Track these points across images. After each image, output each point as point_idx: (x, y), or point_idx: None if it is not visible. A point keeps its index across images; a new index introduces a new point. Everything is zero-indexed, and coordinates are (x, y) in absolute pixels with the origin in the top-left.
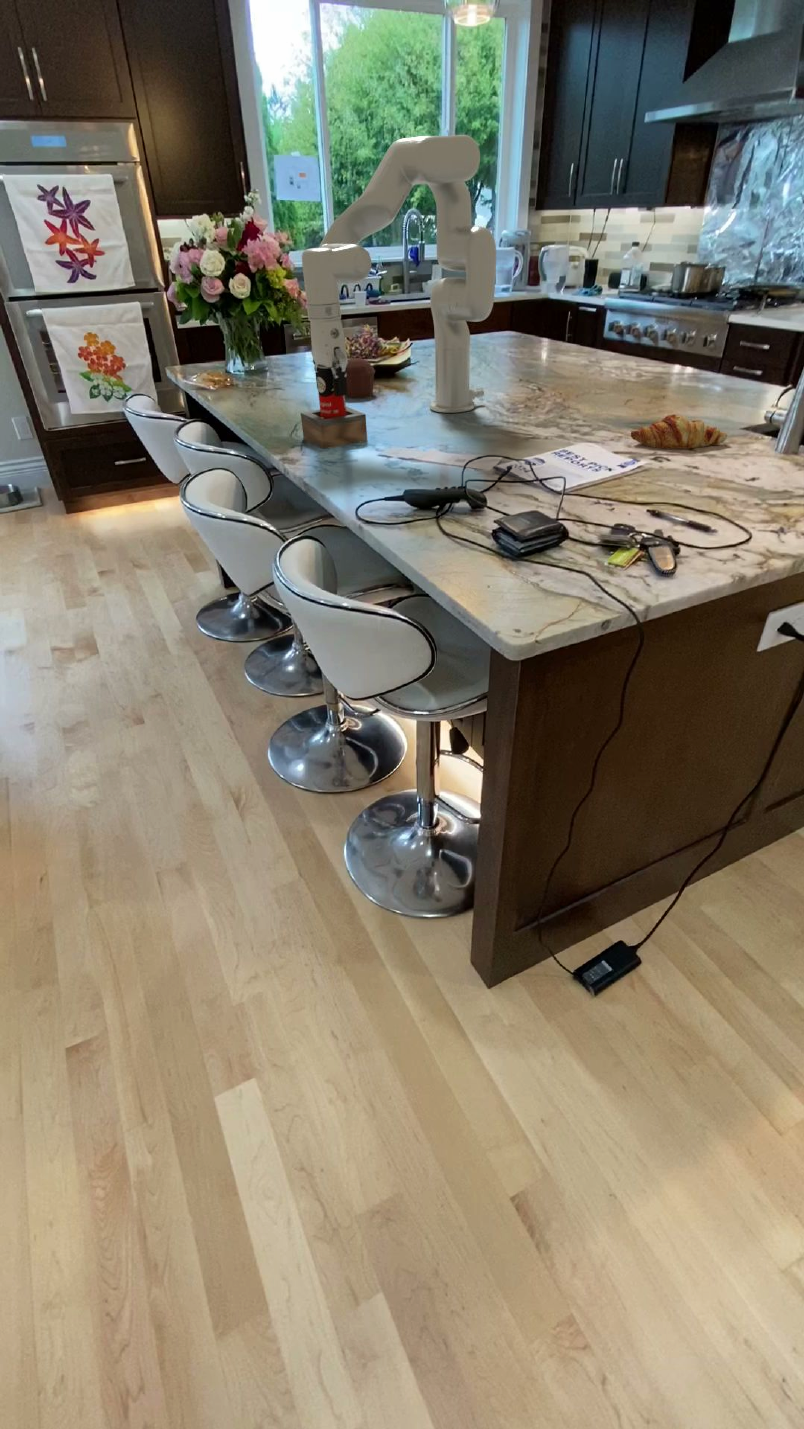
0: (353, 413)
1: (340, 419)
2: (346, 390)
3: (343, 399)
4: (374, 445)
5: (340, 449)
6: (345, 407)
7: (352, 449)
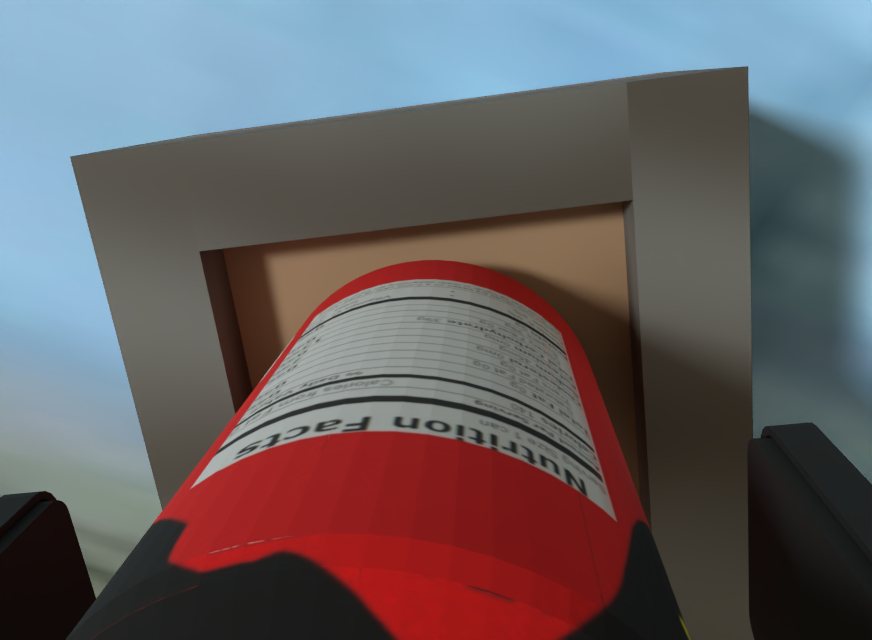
0: (595, 202)
1: (750, 433)
2: (840, 461)
3: (576, 380)
4: (868, 68)
5: (781, 391)
6: (521, 302)
7: (852, 303)
